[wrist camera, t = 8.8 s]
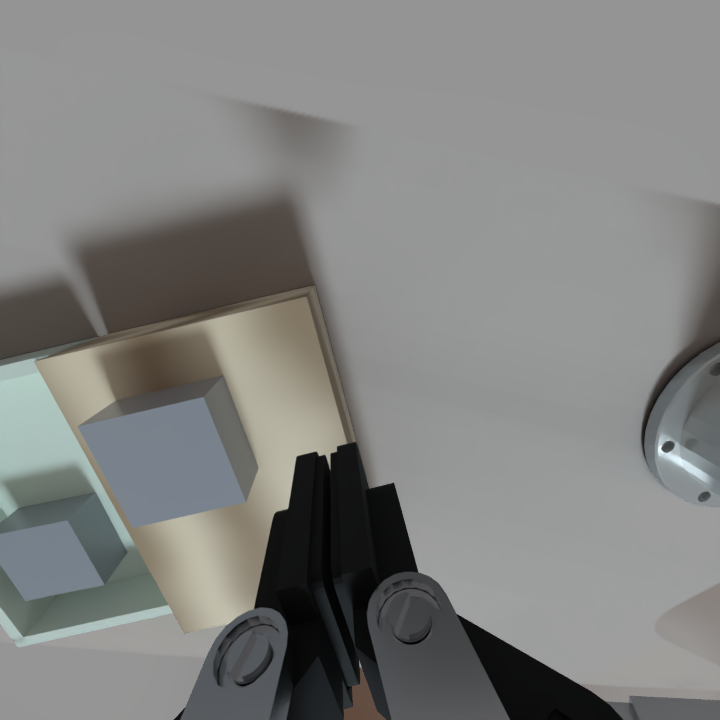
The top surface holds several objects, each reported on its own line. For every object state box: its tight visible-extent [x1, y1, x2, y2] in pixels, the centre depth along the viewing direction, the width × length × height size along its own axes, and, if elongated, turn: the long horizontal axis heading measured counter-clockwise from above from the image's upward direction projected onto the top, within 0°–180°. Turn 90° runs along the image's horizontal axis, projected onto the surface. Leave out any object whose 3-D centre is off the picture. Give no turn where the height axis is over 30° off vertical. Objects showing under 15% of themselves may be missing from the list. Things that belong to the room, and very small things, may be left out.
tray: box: [0, 337, 173, 647], centre depth 21 cm, size 11×17×4 cm, turn 13°
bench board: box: [34, 285, 363, 634], centre depth 20 cm, size 12×17×5 cm
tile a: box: [0, 492, 127, 601], centre depth 22 cm, size 5×5×2 cm
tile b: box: [77, 375, 259, 528], centre depth 15 cm, size 5×5×2 cm
